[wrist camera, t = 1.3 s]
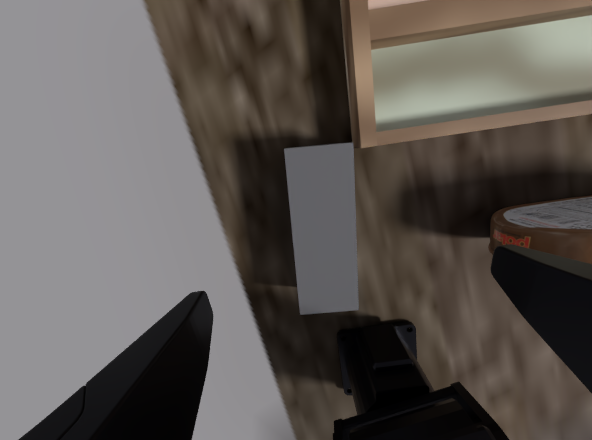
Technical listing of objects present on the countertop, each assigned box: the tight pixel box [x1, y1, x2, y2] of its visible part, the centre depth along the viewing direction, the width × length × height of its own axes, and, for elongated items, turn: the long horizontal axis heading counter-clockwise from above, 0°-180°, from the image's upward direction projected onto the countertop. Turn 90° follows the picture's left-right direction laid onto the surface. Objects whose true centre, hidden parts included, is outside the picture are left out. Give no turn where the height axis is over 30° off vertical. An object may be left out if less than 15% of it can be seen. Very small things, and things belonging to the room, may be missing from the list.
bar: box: [284, 143, 359, 315], centre depth 19 cm, size 11×4×4 cm, turn 5°
